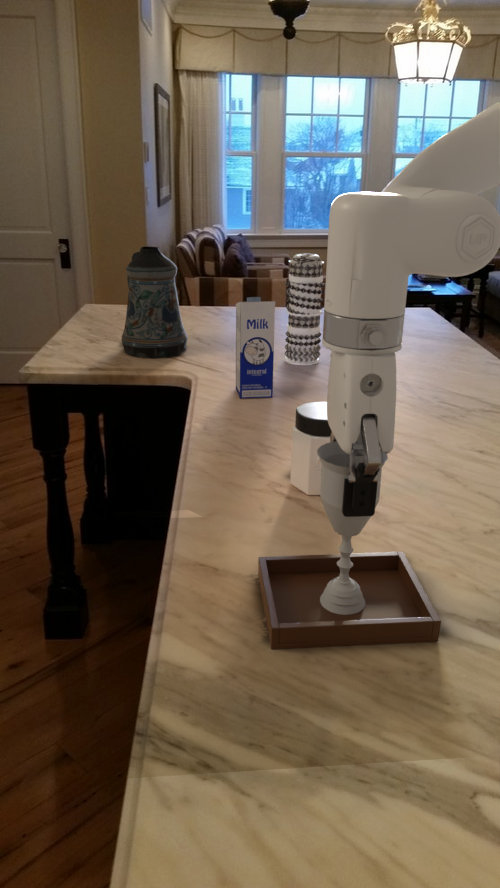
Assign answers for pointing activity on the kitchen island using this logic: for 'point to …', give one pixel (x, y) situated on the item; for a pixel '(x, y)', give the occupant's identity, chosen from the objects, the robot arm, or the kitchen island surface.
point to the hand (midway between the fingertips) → (349, 496)
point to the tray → (310, 625)
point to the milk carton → (254, 348)
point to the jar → (308, 446)
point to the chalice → (342, 526)
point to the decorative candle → (304, 309)
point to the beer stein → (153, 307)
